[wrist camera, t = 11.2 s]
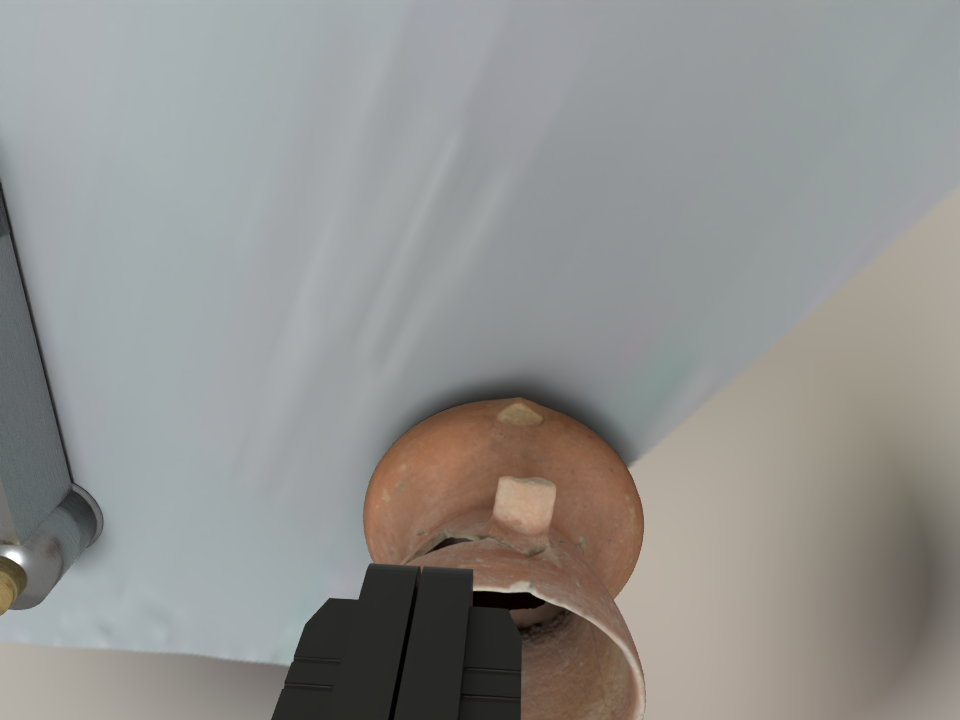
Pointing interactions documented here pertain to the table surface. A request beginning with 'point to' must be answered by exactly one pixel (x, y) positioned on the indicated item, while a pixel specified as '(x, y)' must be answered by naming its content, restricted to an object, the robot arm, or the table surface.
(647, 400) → the table surface
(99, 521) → the tong base
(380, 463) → the ceramic jug
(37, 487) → the bar
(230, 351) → the table surface
